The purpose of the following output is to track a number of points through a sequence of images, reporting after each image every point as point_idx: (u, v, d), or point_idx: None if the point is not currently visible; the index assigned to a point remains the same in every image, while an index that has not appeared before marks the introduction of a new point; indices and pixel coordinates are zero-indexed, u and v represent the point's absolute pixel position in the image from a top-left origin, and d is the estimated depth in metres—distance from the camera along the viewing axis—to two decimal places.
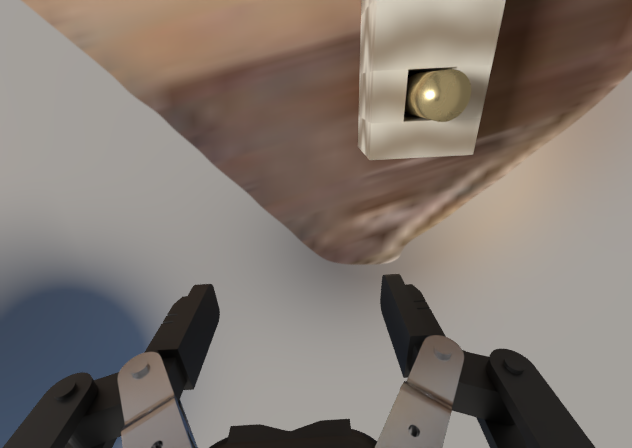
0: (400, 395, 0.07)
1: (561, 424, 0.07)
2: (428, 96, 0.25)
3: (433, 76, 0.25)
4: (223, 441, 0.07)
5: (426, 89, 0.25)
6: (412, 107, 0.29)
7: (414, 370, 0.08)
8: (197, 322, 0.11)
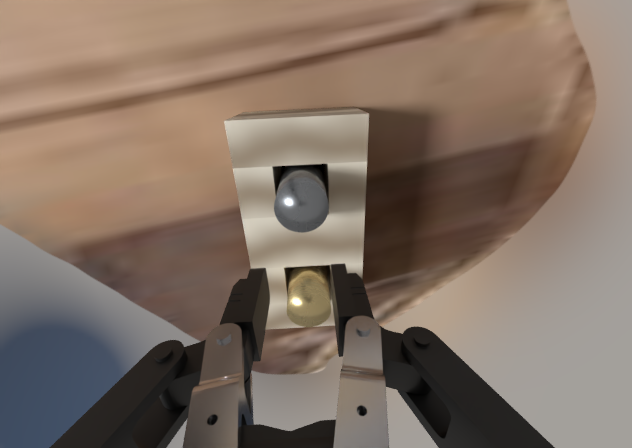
0: (341, 383, 0.07)
1: (466, 378, 0.08)
2: (291, 311, 0.27)
3: (293, 296, 0.27)
4: None
5: (288, 306, 0.27)
6: None
7: (345, 355, 0.09)
8: (260, 300, 0.12)
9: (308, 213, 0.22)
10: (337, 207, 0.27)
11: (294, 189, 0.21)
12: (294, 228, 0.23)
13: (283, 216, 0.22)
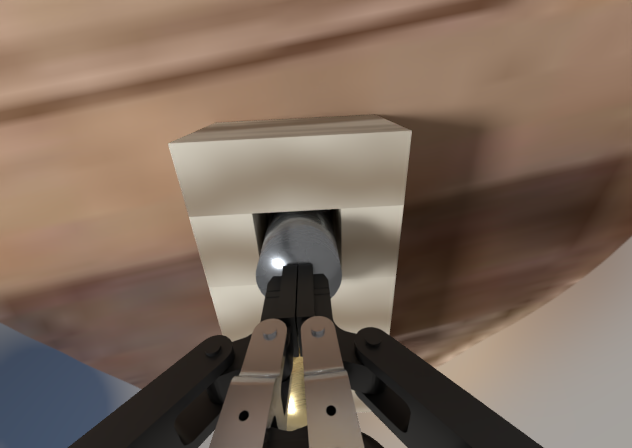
0: (307, 389, 0.07)
1: (419, 369, 0.08)
2: None
3: None
4: None
5: None
6: None
7: (305, 359, 0.09)
8: (296, 297, 0.12)
9: None
10: (354, 271, 0.17)
11: (287, 251, 0.13)
12: None
13: None
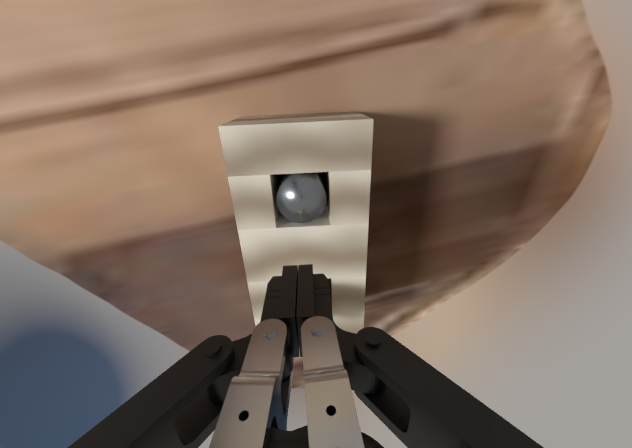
0: (307, 389, 0.07)
1: (418, 369, 0.08)
2: None
3: None
4: None
5: None
6: None
7: (305, 359, 0.09)
8: (296, 297, 0.12)
9: (308, 204, 0.24)
10: (339, 218, 0.25)
11: (295, 182, 0.23)
12: (295, 219, 0.25)
13: (285, 207, 0.24)
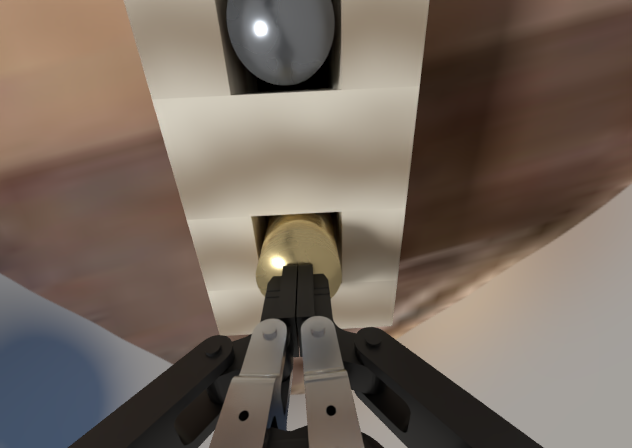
0: (307, 389, 0.07)
1: (418, 369, 0.08)
2: (265, 278, 0.14)
3: (268, 247, 0.14)
4: None
5: (258, 269, 0.14)
6: None
7: (305, 359, 0.09)
8: (296, 297, 0.12)
9: (295, 36, 0.11)
10: (361, 73, 0.12)
11: None
12: (269, 75, 0.12)
13: (246, 43, 0.12)
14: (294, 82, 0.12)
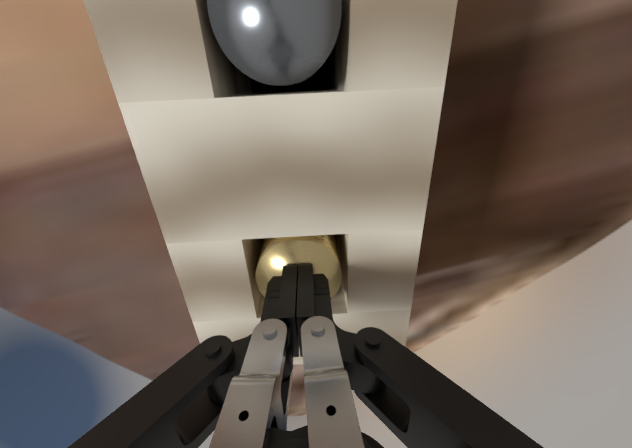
0: (307, 389, 0.07)
1: (418, 369, 0.08)
2: (265, 278, 0.14)
3: (268, 248, 0.14)
4: None
5: (258, 270, 0.14)
6: None
7: (305, 359, 0.09)
8: (296, 297, 0.12)
9: (293, 25, 0.09)
10: (373, 70, 0.10)
11: None
12: (261, 73, 0.10)
13: (233, 33, 0.09)
14: (292, 82, 0.10)
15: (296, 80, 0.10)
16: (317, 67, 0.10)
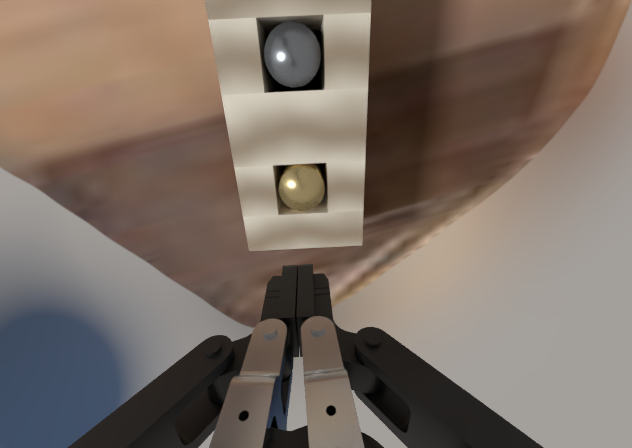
0: (307, 389, 0.07)
1: (418, 369, 0.08)
2: (283, 189, 0.26)
3: (286, 172, 0.26)
4: None
5: (280, 184, 0.26)
6: None
7: (305, 359, 0.09)
8: (296, 297, 0.12)
9: (300, 61, 0.22)
10: (335, 80, 0.22)
11: (285, 30, 0.21)
12: (285, 81, 0.22)
13: (274, 65, 0.22)
14: (299, 85, 0.22)
15: (301, 85, 0.22)
16: (310, 79, 0.22)
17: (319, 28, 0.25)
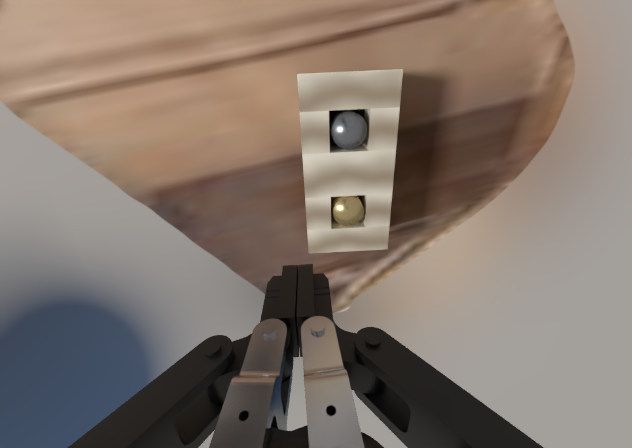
0: (307, 389, 0.07)
1: (418, 369, 0.08)
2: (336, 212, 0.39)
3: (338, 200, 0.38)
4: None
5: (334, 208, 0.39)
6: None
7: (305, 359, 0.09)
8: (296, 297, 0.12)
9: (353, 134, 0.34)
10: (375, 145, 0.35)
11: (346, 117, 0.33)
12: (343, 146, 0.35)
13: (337, 136, 0.34)
14: (352, 148, 0.35)
15: (353, 147, 0.35)
16: (359, 144, 0.35)
17: None
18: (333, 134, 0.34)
